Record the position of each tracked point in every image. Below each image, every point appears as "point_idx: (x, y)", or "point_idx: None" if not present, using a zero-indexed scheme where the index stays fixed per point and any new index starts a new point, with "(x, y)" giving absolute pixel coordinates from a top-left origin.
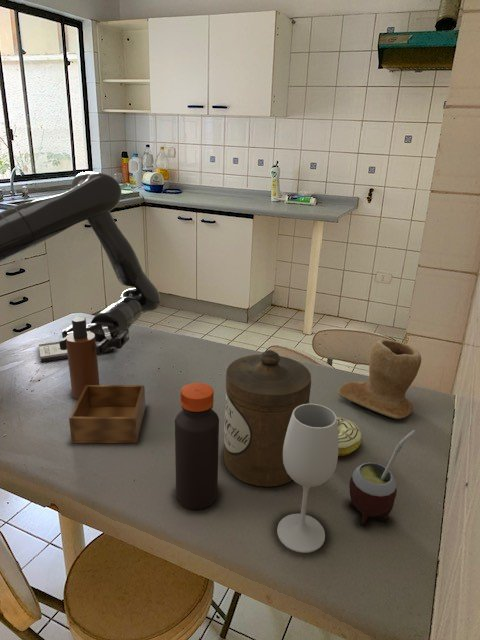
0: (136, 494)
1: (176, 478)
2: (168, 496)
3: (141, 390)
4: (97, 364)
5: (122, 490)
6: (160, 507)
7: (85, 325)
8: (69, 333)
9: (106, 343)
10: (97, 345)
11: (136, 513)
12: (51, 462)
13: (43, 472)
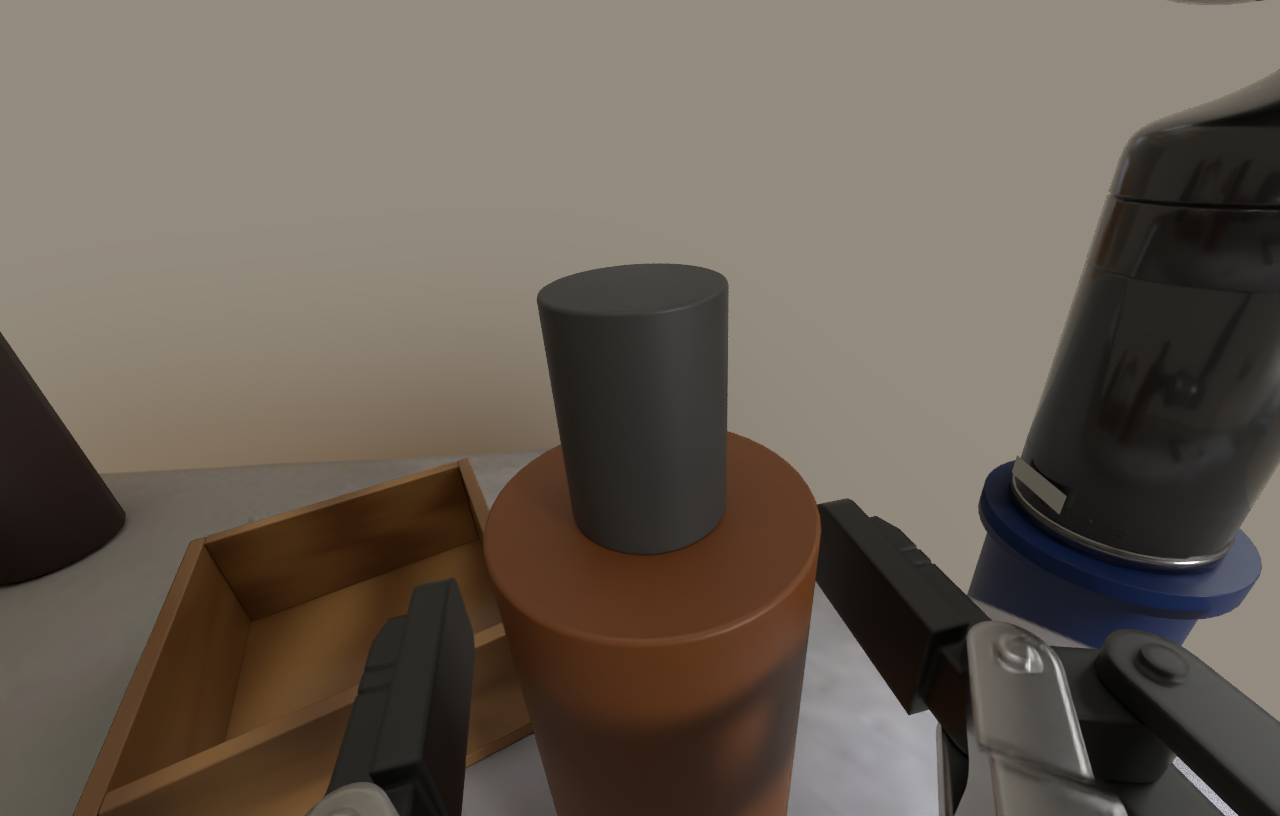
0: (243, 497)
1: (89, 462)
2: (151, 520)
3: (113, 744)
4: (556, 805)
5: (283, 493)
6: (180, 496)
7: (550, 380)
8: (998, 639)
9: (368, 723)
10: (442, 585)
11: (243, 472)
12: (502, 480)
13: (501, 460)
